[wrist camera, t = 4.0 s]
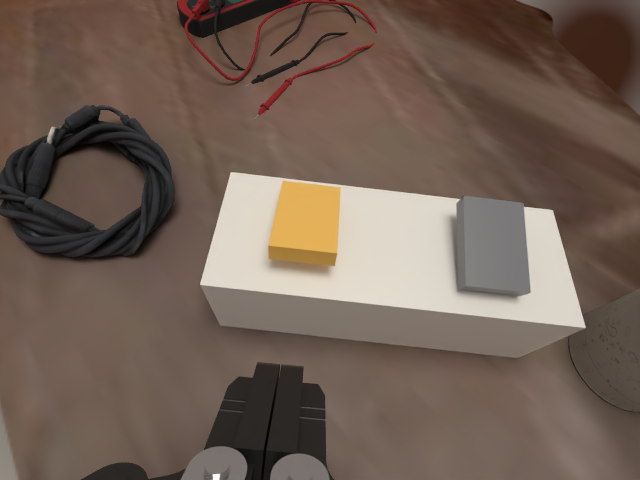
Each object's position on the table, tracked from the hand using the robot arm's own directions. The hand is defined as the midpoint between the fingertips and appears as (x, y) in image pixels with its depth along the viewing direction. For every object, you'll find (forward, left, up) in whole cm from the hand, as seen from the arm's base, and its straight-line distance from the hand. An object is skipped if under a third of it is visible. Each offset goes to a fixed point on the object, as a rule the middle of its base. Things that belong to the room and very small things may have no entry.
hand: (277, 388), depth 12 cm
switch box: (-10, -8, -17) cm, 21 cm away
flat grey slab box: (-16, -5, -8) cm, 18 cm away
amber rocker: (-5, -10, -8) cm, 14 cm away
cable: (+11, -25, -17) cm, 32 cm away
